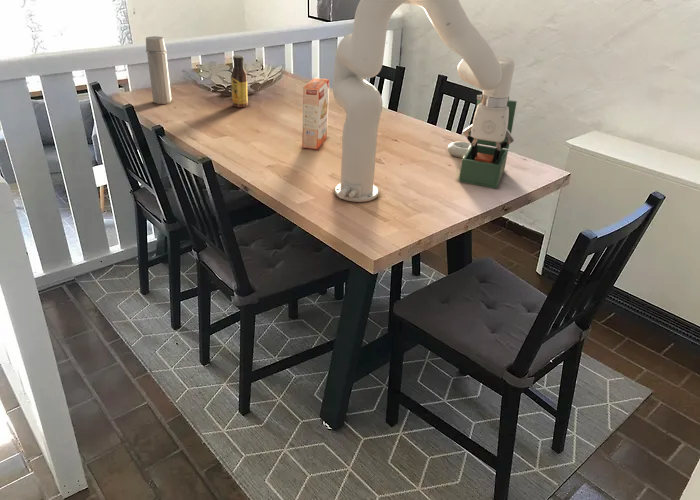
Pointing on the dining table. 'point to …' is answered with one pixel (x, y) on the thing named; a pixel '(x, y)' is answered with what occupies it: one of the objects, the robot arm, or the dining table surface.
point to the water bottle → (158, 69)
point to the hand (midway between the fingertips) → (484, 158)
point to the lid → (510, 123)
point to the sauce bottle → (239, 83)
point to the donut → (459, 148)
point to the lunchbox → (483, 168)
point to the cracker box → (315, 113)
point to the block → (484, 158)
